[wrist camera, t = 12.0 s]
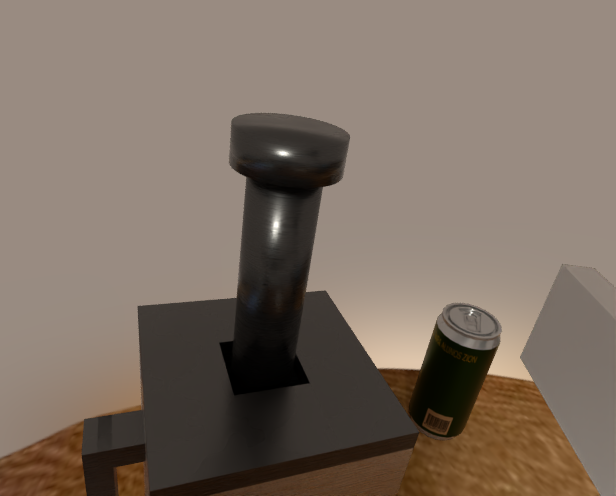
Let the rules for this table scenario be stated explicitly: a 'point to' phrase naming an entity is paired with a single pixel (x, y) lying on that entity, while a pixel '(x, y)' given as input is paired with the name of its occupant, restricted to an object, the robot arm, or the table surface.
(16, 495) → the table surface
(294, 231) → the plunger
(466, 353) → the green drink can
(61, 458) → the table surface
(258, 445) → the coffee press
